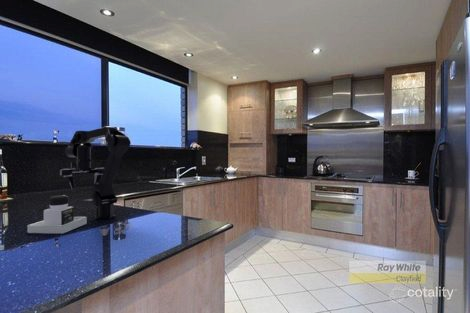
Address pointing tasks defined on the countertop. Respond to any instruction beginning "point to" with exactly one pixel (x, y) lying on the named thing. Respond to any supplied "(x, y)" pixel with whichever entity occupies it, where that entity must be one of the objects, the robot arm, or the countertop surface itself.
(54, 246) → the countertop surface
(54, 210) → the medicine bottle
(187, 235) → the countertop surface
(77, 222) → the grey square tray
